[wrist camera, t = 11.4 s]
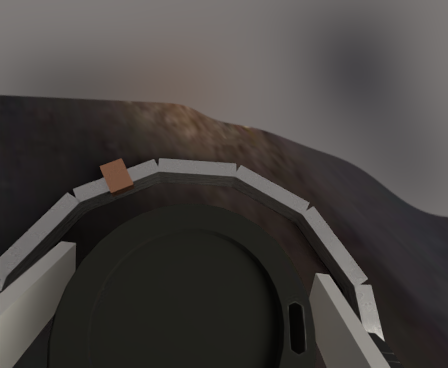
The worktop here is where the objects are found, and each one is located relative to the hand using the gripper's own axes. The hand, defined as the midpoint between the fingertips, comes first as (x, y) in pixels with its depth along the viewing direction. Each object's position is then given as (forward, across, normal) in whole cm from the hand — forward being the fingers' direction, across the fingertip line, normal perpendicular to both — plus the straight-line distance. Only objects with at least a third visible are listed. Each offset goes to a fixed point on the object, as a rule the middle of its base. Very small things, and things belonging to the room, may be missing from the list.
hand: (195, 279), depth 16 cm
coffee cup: (+5, 0, -8) cm, 10 cm away
